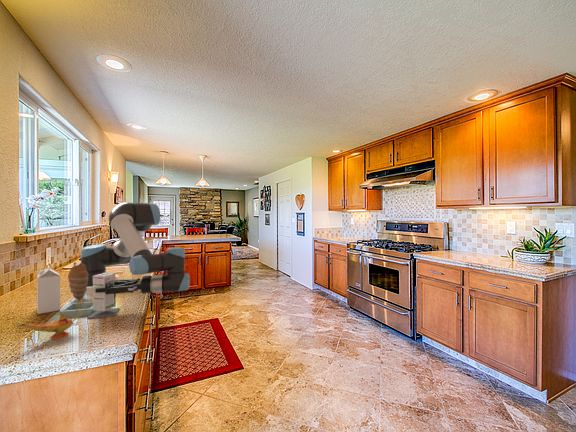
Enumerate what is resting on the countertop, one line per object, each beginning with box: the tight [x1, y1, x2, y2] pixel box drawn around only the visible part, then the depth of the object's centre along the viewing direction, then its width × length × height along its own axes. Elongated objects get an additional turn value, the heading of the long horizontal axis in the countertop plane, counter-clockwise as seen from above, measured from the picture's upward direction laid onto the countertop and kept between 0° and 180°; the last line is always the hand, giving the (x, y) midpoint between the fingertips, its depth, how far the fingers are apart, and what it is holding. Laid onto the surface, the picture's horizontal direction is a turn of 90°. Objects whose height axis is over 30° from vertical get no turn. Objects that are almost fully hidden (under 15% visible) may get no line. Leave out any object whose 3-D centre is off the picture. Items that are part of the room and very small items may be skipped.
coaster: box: [86, 307, 121, 320], centre depth 114 cm, size 9×9×1 cm
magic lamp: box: [16, 298, 87, 340], centre depth 92 cm, size 7×18×11 cm, turn 141°
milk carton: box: [36, 264, 61, 315], centre depth 117 cm, size 7×7×19 cm
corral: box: [59, 301, 95, 318], centre depth 116 cm, size 11×11×2 cm
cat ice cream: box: [67, 261, 88, 300], centre depth 132 cm, size 9×8×18 cm
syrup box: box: [92, 272, 117, 311], centre depth 114 cm, size 6×6×14 cm
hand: (90, 287), depth 112 cm, fingers closed on syrup box, 7 cm apart
